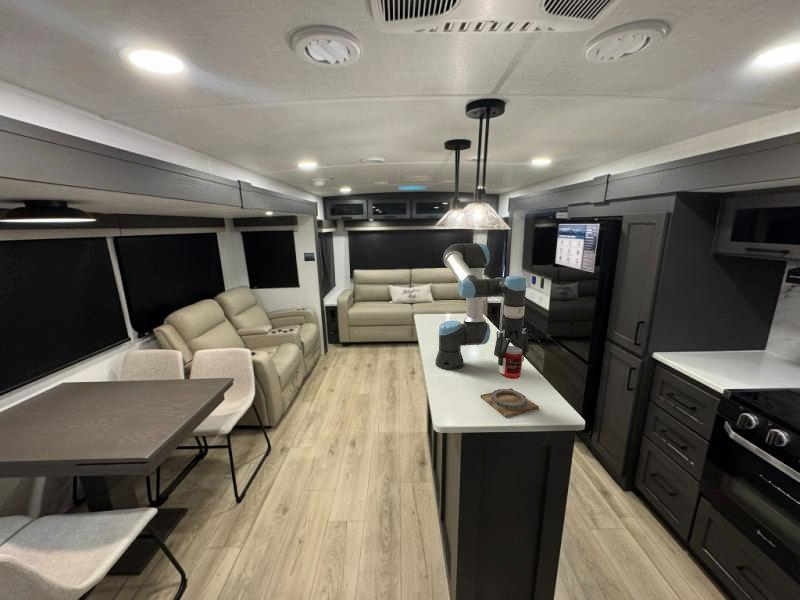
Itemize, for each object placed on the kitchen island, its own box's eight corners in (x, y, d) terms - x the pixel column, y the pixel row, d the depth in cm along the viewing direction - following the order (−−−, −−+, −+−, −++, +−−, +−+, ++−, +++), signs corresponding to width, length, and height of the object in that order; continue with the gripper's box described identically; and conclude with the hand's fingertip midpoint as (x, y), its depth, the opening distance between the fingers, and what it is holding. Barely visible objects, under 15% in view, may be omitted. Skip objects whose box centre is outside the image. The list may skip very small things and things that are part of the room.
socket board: (480, 397, 128) (480, 391, 128) (511, 390, 134) (511, 385, 133) (505, 417, 114) (505, 411, 113) (538, 409, 119) (539, 402, 118)
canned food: (506, 369, 127) (508, 344, 124) (524, 375, 120) (526, 349, 118) (496, 374, 122) (497, 348, 120) (514, 381, 116) (515, 354, 114)
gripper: (497, 321, 110) (495, 379, 114) (541, 315, 116) (537, 370, 121) (485, 316, 117) (483, 371, 121) (527, 311, 123) (524, 363, 128)
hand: (510, 370), depth 121 cm, fingers closed on canned food, 8 cm apart
